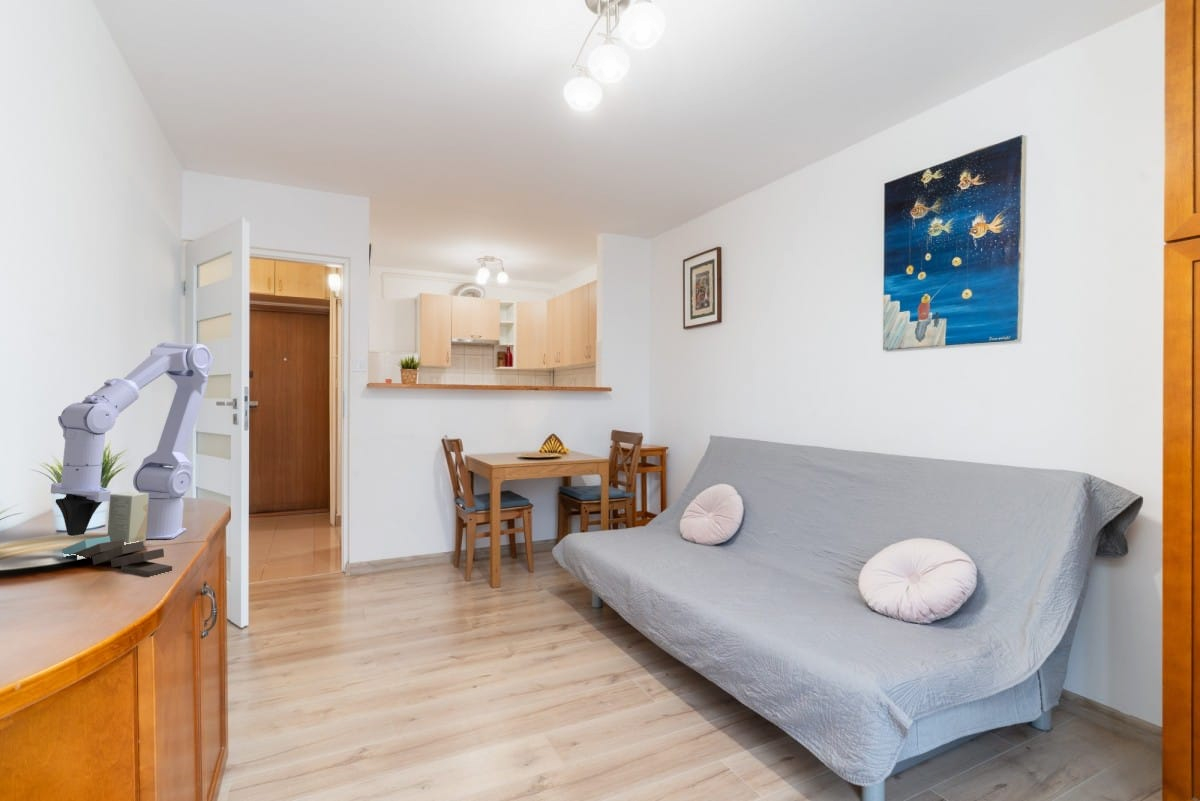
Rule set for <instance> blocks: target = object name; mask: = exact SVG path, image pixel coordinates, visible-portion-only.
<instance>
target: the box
mask: <svg viewBox="0 0 1200 801" xmlns="http://www.w3.org/2000/svg"><path fill="white" fill-rule="evenodd" d="M148 499H149V493H139V491H137V492H136V491H123V492H116V493H110V501H109V506H108V507H109V508H108V509H109V510H108V520H107V533H106V534H107V535H106V537H107V536H110V542H112V541H118V540H124V542H126V543H130V542H136V541H139V542H141V541H143V544H144V546H146V544H147V543H146V542H147V541H146V540H147V539H146V529H147V514H148Z"/></svg>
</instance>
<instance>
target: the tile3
mask: <svg viewBox="0 0 1200 801" xmlns="http://www.w3.org/2000/svg"><path fill="white" fill-rule="evenodd" d="M143 551H145V545H144V544H143V541H141V542H136V543H131V544H126V545H121V546H119V547H116V548H113V549H111V550H108V551H105V552H103V553H100V554H97V555H95V556H92V558H91V560H92V564H93V566H95V565H100V564H104V563H108V562H109V563H111V558H116V557H121V556H126V555H131V554H136V553H140V552H143Z"/></svg>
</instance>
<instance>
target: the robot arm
mask: <svg viewBox="0 0 1200 801" xmlns="http://www.w3.org/2000/svg"><path fill="white" fill-rule="evenodd" d="M213 363H214V358H213V356H212V353H211V351H210V350H209V348H208V347H207V346H206V345H205V344H201V343H196V344H193V343H179V342H170V341H162V342H160V343H159V344H157V345H156V346H155V347H154V348H151V349H150V355H149V356H148V357H146V359H145V360H143V361H142V362H141V363H140V364H139V365H138V366H137V367H136V368H134V369H133V370H131V372H130V373H128V374H127V375H126V376H125V377H124V378H111V379H106V380H105V381H104V382H103V384H104V385H103V386H101V387H100V388H98V389H97V390H95V391H94V392H93V393H92V394H88V395H87V396H85V397H84V399H83V400H82V401H81V402H73V403H70V404H69V405H67V406H66V407H65V408H64V409H63V410H62V411H61V414H60V415H58V416H57V422H58V424H59V426H60V427H61V429H62V433H63V434H62V438H64V440H65V441H64V450H63V458H62V459H63V460H62V472H61V481H60V482H57V483H56V482H55V483H51V486H50V494H53V495H56V494H57V495H65V496H64V498H57V499H55V504H56V506H58V508H59V509H60V512H61V514H62V517H63V520H64V524H65V529H66V530H65V531H66V533H67V536H70V537H75V536H82V535H85V534H86V531H87V528H88V526H89V524H90V522H91V519H92V517H93V515H94V513H95V512H96V510H97V509H98V508H99V506H100V505H101V504H102V503H105V502H110V495H111V494H112V493H111V492H112V491H111V490H107V489H106V488H104V487H103V486H101V481H102V470H103V462H104V450H105V449H104V448H105V442H106V440H105V439H106V432H108V431H111V430H112V429H113V428H114V425H115V423H116V420H117V418H118V417H119V415H120V414H121V413H122V412H123V411H125V410H126V409H127V408H128V407H130V406H131V405H132V404H133V403H134V402H136V401H137V400H138V399H139V397H140V390H142V389H143V388H144V387H146V386H147V385H149V384H150V383H152V382H154V381H155V380H157V379H158V378H159V377H161V376H162V375H164V374H165V375H167V376H168V377H169V379H171V380H173V381H174V382H175V384H176V389H175V393H174V395H173V399H172V402H171V405H170V407H169V411H168V415H167V417H166V420H165V424H164V425H163V426H164V427H163V429H162V432H161V435H160V438H159V442H158V445H157V447H156V450H155V451H154V452H153V453H151V454H149V455H148V456H146V457H144V458H143V460H142V462H141V465H140V467H139V468H138V469H137V470H136V472H135V473H134V475H133V478H132V484H133V488H134V489H135V490H136V491H137V492H138V493H149V499H148V514H147V529H146V540H151V539H153V540H156V539H158V540H163V539H166V540H167V539H168V540H169V539H171V540H172V539H175V538H176V537H177V536H179V535H181V534H182V533H184V532H186V531H187V528H186V527H183V516H184V506H185V503H184V500H183V499H182V497H185V494H186V493H187V492H188V491H189V490H190V488H191V485H192V483H193V482H192V481H193V475H192V474H193V473H192V472H193V469H194V465H193V463H192V462H191V461H190V460H189V459H188V458H187V456H186V453H187V450H188V447H189V445H190V444H189V443H190V441H191V436H192V434H193V432H194V428H195V424H196V421H197V418H198V416H199V412H200V409H201V406H202V403H203V399H204V396H205V393H206V390H207V386H208V378H209V376H210V373H211V370H212V369H211V368H212V365H213Z"/></svg>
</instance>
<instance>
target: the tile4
mask: <svg viewBox="0 0 1200 801" xmlns="http://www.w3.org/2000/svg"><path fill="white" fill-rule="evenodd" d="M161 558H165V550H164V548H157V549H152V550H147V551H146V550H145V551H140V552H136V553H134V554H131V555H126V556H121V557H116V558H111V561H110V567H111V568H116V567H120V566H123V565H128V564H133V563H138V562H144V561H148V562H149V561H152V560H156V559H161Z"/></svg>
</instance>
